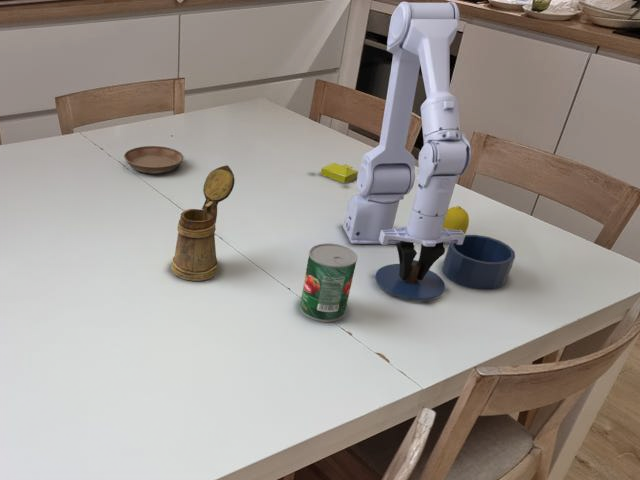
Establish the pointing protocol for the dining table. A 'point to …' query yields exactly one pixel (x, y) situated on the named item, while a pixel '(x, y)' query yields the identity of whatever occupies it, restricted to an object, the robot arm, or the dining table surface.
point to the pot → (478, 262)
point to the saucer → (153, 159)
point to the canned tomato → (327, 282)
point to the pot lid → (410, 282)
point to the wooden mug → (201, 230)
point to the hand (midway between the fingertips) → (410, 277)
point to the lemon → (456, 219)
